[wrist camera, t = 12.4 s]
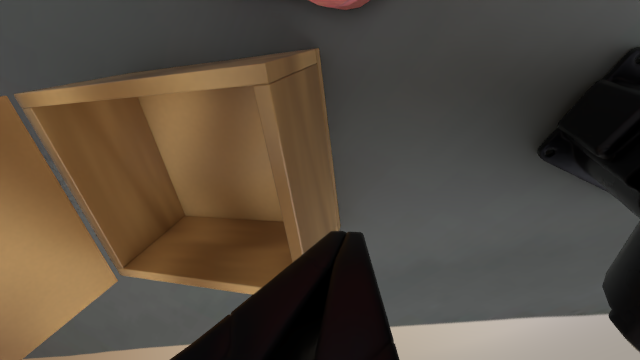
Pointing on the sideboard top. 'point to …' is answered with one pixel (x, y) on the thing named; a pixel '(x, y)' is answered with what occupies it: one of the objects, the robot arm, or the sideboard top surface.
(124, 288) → the sideboard top surface
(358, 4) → the plaque
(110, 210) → the chest
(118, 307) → the sideboard top surface
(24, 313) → the lid
